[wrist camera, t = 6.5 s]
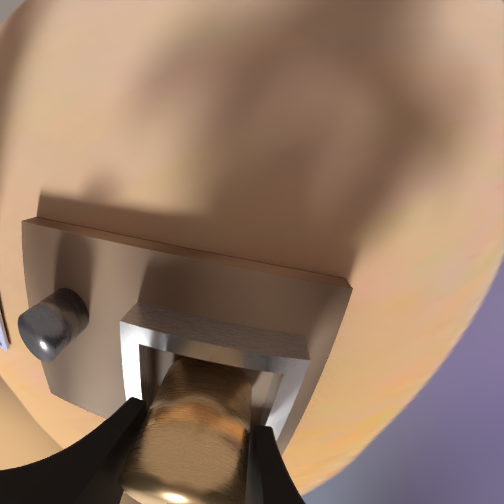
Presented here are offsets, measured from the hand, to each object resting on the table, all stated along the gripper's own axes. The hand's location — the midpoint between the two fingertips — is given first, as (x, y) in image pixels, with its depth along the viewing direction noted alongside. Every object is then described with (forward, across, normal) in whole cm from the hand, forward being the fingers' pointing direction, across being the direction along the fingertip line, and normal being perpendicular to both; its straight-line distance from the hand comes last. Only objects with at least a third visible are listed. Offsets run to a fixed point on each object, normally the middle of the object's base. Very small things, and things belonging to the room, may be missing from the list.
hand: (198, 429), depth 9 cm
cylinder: (+2, 0, 0) cm, 2 cm away
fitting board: (+4, +3, 0) cm, 5 cm away
